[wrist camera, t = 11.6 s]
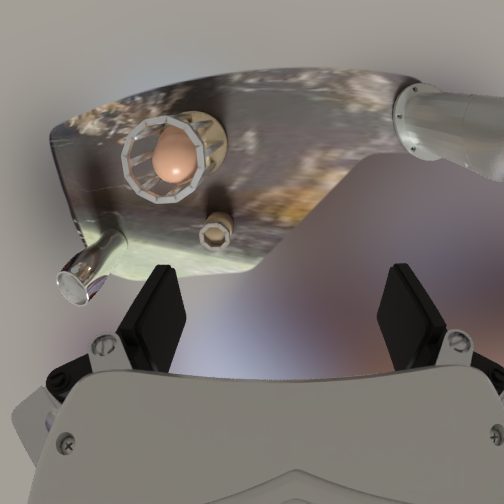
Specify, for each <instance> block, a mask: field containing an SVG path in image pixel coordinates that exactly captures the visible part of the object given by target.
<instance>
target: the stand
mask: <svg viewBox="0 0 504 504" xmlns="http://www.w3.org/2000/svg"><path fill="white" fill-rule="evenodd" d="M233 227H234V223H233V220H232V218H231V216H230V215H229V214H227V213H225V212H222V211H217V212H213V213H212V214H210V215H209V217H208V218H207V220H206V222H205V224H204V226H203V227H202V228H201V229H200V231H199V236H200V243H201V244H202V245H203V246H205V247H206V248H207V249H208V250H210V249H211V251H221V250H223V249H224V248H225V247H226V246H227V245H228V244H229V243H230V240H231V239H230V237H231V233H232V230H233Z"/></svg>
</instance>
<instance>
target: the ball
mask: <svg viewBox="0 0 504 504" xmlns="http://www.w3.org/2000/svg"><path fill="white" fill-rule="evenodd" d="M195 131H196V133H197V134H198V135H199V137H200V138H201V136H200V134H199V132H198V131H197V130H195ZM175 133H184V134H186V132H185V131H184V130H183V129H180V128H178V127H176V126H173V125H170V126H169V127H167V128H166V129H165V130H164V131H163V132H162V133H161V135H160V137H159V140H158V143H159V142H160V141H161V140H162V139H163V138H165V137H167V136H169V135H171V134H175Z"/></svg>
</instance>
